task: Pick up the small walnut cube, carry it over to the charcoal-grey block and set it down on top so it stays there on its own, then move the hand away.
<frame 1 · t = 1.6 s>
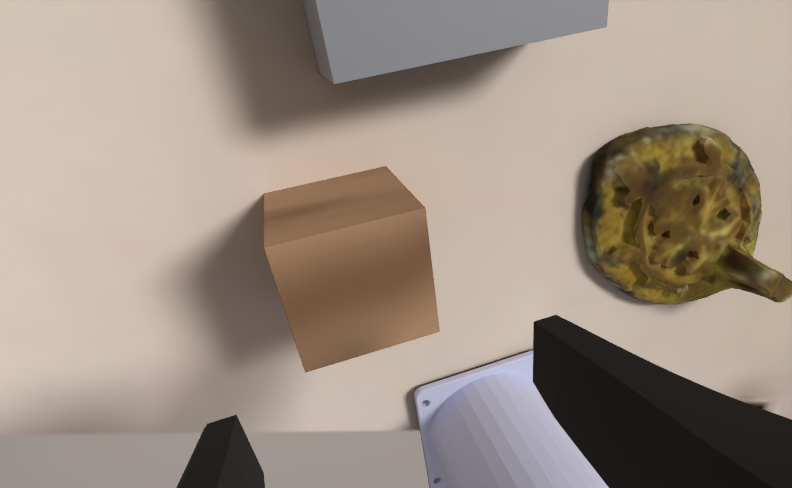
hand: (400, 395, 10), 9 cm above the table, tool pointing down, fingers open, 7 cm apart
seal: (664, 217, 24), on the table
walnut cube: (338, 233, 18), on the table
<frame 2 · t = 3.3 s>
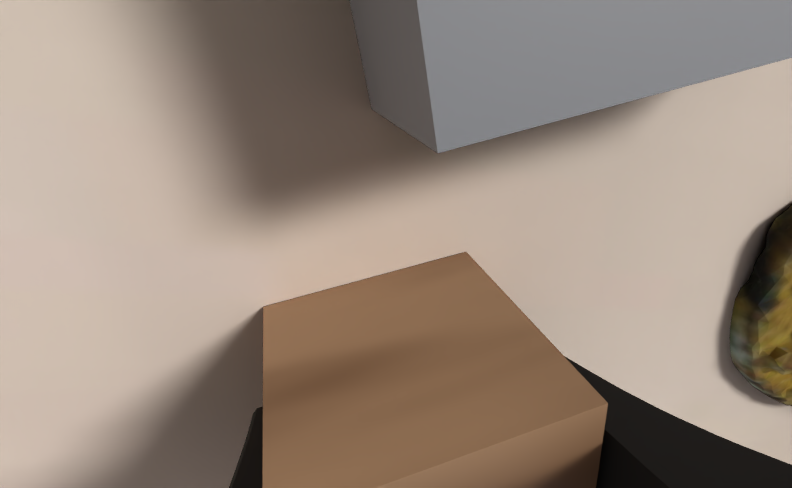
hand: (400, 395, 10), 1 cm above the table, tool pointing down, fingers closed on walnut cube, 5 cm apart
walnut cube: (384, 356, 11), on the table, touching gripper
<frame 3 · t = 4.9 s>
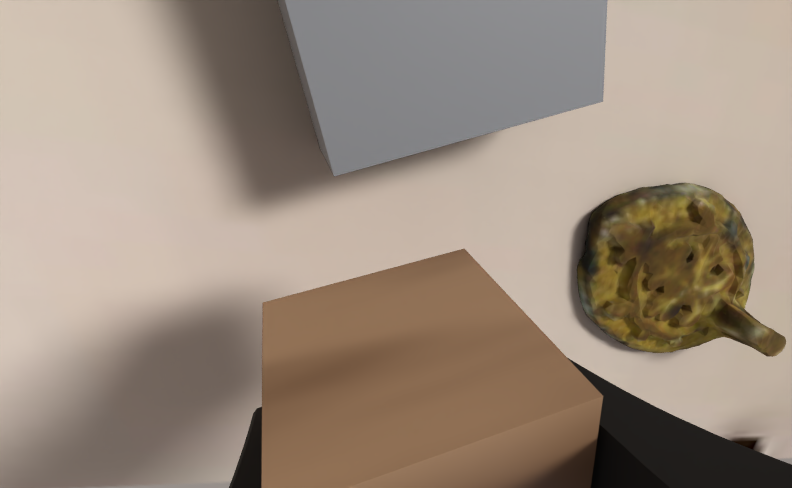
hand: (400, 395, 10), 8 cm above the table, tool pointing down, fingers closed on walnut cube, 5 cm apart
seal: (658, 268, 24), on the table
walnut cube: (383, 352, 11), point 7 cm above the table, touching gripper
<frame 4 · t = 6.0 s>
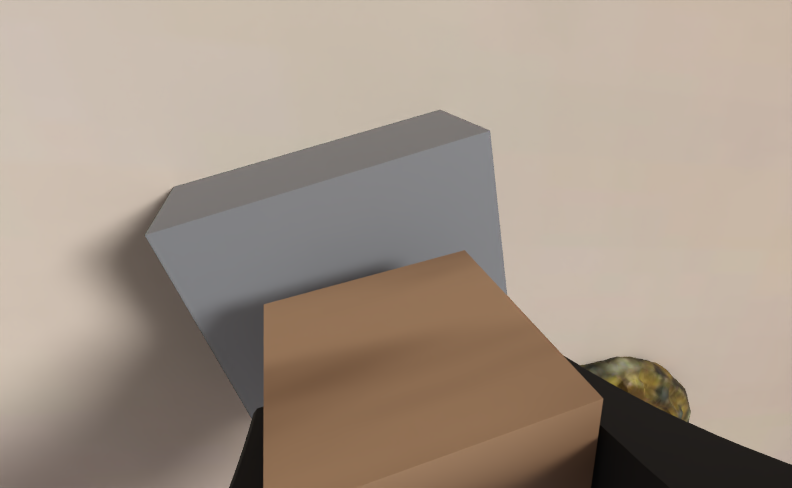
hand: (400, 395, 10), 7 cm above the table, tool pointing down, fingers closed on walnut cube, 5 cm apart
grey block: (347, 256, 16), on the table
seal: (601, 415, 26), on the table
walnut cube: (384, 353, 11), point 5 cm above the table, touching gripper
when the fingers open (7 cm above the table, at t = 6.7 s): walnut cube drops 2 cm, point 4 cm above the table.
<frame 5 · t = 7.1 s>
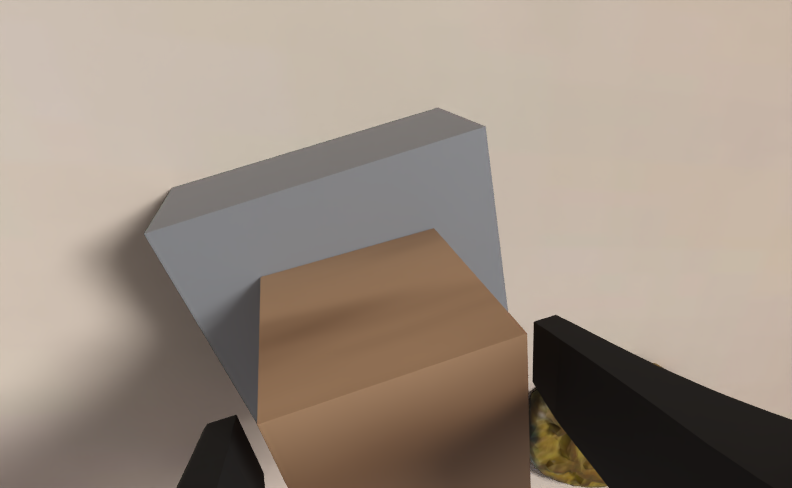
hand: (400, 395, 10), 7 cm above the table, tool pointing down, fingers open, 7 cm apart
grey block: (346, 254, 16), on the table
seal: (602, 416, 26), on the table
walnut cube: (367, 321, 13), point 4 cm above the table
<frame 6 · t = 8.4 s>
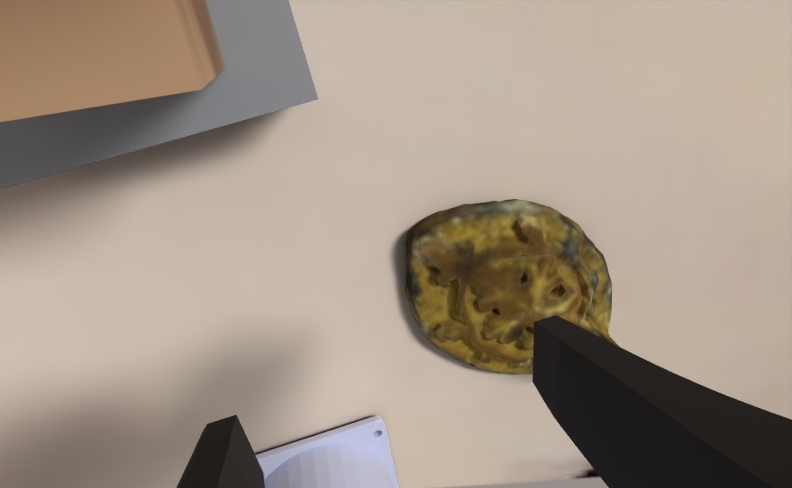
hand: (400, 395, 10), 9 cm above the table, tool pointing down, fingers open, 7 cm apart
seal: (509, 287, 23), on the table
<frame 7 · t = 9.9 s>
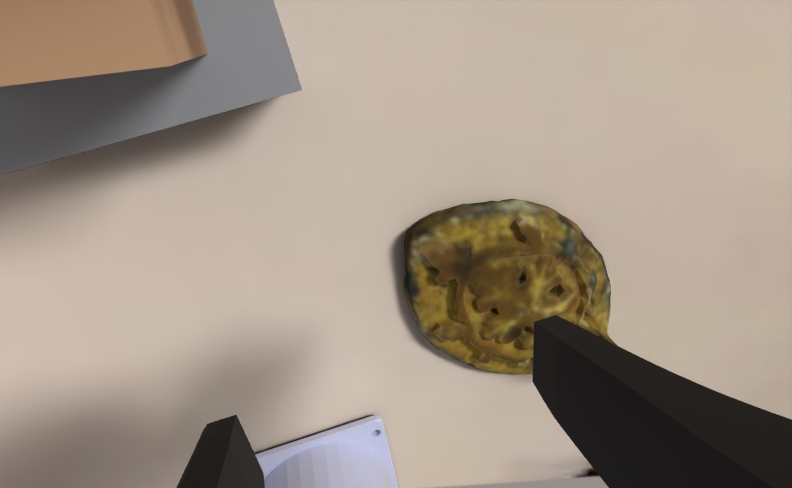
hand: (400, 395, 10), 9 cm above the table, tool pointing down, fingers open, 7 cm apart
seal: (508, 287, 23), on the table
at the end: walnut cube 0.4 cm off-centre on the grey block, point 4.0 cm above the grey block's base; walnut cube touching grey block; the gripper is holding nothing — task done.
